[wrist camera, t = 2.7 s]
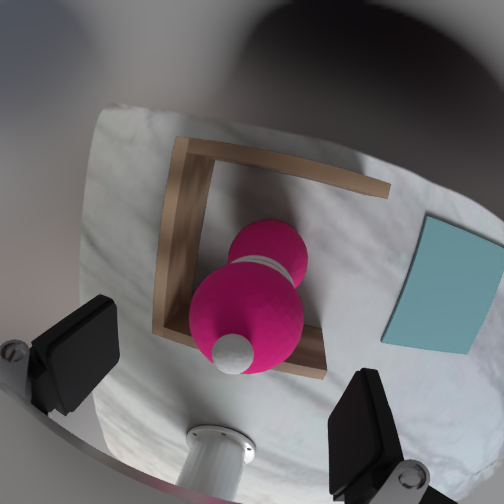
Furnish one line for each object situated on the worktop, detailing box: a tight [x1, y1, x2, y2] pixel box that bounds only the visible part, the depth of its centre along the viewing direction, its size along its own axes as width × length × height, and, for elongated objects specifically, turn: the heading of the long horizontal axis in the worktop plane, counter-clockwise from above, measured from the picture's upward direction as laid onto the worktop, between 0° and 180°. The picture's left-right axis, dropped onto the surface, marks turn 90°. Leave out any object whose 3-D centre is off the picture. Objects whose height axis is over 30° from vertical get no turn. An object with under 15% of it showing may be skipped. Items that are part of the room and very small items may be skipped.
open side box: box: [152, 136, 391, 380], centre depth 25 cm, size 18×17×8 cm
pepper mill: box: [189, 220, 308, 374], centre depth 20 cm, size 7×7×20 cm
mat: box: [381, 216, 504, 354], centre depth 27 cm, size 16×16×1 cm
